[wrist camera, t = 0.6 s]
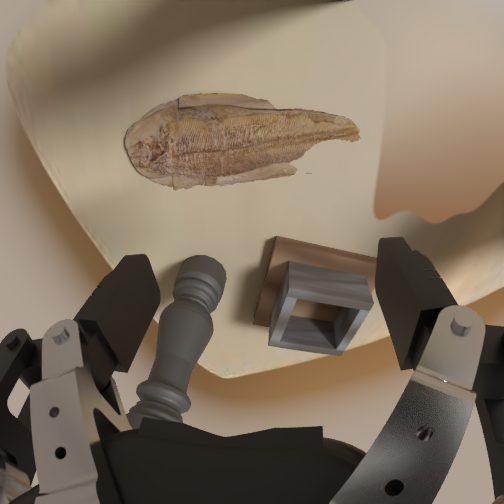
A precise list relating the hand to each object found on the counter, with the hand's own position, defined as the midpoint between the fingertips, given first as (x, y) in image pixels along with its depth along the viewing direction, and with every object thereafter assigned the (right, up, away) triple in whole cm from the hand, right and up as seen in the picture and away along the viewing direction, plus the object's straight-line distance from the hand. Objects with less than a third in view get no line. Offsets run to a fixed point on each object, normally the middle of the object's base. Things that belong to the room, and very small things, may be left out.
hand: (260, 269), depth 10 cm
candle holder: (-7, -2, +30) cm, 30 cm away
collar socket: (+8, -5, +29) cm, 31 cm away
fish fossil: (-1, +12, +20) cm, 23 cm away
